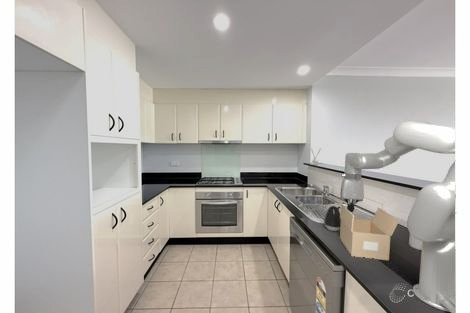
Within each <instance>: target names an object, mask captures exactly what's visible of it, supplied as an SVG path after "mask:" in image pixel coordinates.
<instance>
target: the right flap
mask: <svg viewBox="0 0 470 313" xmlns="http://www.w3.org/2000/svg"><path fill="white" fill-rule="evenodd" d="M371 221H373V222H374V223H375V224H377V225H378V226H379V227H380V228H381V229H383V230H384V231H385V232H386V233H387V234H389V235H390V237H391V236H393V235H394V232H395V230H396V228H397V227H398V223H399V222H400V220H399V219H398V218H396V217H394V216H393V215H391V214H390V213H388V212H386V211H385V210H383V209H382V208H380V207H377V209H376V212H375V213H374V216H373V217H372V220H371Z"/></svg>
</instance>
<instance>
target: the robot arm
mask: <svg viewBox="0 0 470 313" xmlns="http://www.w3.org/2000/svg"><path fill="white" fill-rule="evenodd" d="M455 127H456V126H448V125H447V126H446V125H444V126H443V125H437V124H433V123H431V122H428V121H420V120H419V121H418V120H407V121H403V122H401V123H398V125H397V126H396V127H394V130H393V131H392V132H393V133H392V136H390V137H388V138H386V139H385V140H384V145H383V146H384V149H383V150H381V151H379V152H376V153H360V152H359V153H357V152H347V153H346V154H345V160H344V172H343V173H342V174H341V175H340V176H341V177H343V178H342V181H341V185H340V192H339V193H340V197H339V199H340V200H341V201H344V202H346V204H347V205H346V208H347V209H348V210H349V211H350V212H351V213H354V211H355V205H356V204H357V203H359V202H363V201H364V197H365V192H364V191H365V188H364V180H363V179H362V170H378V169H383V168H385V167H388V166H389V165H392V164H393V163H395V162H397V161H398V160H399V159H400V157H402V156H403V155H406V154H408V153H410V152H412V151H414V150H417V149H419V150H423V151H426V152H430V153H431V152H432V153H435V154H442V155H443V154H446V155H450V154H455ZM455 214H456V212H455V161H453V163H452V164H451V165H450V167H449V168H448V171H447V173H446V176H445V177H444V179H443V180H442V182H434V183H430V184H427V185H425V186H424V187H422V188H421V190H419V191H418V193H417V196H416V198H415V200H414V202H413V204H412V207H411V209H410V211H409V213H408V217H407V219H406V225H407V226H406V227H407V229H408V231H409V234H410V233H411V235H412V236H413V237H415V238H416V239H418V240H420V241H423V243H422V250H421V255H420V266H419V281H418V283H417V284H414V285H413V287H412V289H413V290H412V291H413V294H414V295H415V296H416V297H417V298H418V299H419V300H421V301H422V302H424V303H425V304H427V305H429V306H431V307H434V308H435V309H438V310H440V311H445V312H448V313H455Z"/></svg>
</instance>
